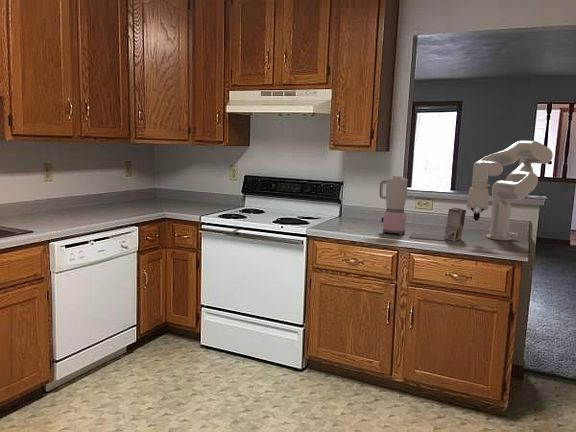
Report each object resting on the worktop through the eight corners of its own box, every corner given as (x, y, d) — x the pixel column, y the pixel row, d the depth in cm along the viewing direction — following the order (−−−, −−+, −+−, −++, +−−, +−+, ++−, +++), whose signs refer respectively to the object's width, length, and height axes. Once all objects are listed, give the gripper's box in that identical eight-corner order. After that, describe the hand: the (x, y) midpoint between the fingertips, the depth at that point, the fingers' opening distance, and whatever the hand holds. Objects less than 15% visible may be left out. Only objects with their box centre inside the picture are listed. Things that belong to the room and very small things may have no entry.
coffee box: (450, 236, 268) (455, 207, 265) (461, 239, 264) (466, 209, 261) (443, 238, 261) (448, 208, 258) (455, 241, 257) (460, 211, 254)
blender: (407, 232, 278) (411, 176, 273) (402, 236, 267) (406, 177, 262) (380, 229, 285) (383, 174, 280) (374, 232, 274) (377, 175, 269)
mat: (444, 236, 271) (445, 235, 271) (444, 241, 257) (444, 240, 257) (411, 233, 277) (411, 232, 276) (409, 237, 262) (409, 237, 262)
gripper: (494, 185, 256) (490, 220, 259) (464, 184, 261) (461, 218, 263) (495, 187, 249) (492, 222, 252) (464, 185, 254) (461, 220, 256)
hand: (476, 220), depth 258 cm, fingers closed
